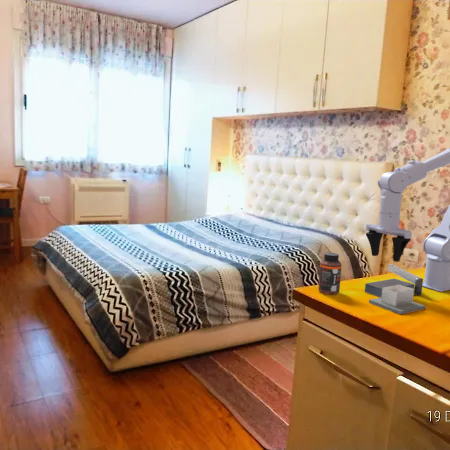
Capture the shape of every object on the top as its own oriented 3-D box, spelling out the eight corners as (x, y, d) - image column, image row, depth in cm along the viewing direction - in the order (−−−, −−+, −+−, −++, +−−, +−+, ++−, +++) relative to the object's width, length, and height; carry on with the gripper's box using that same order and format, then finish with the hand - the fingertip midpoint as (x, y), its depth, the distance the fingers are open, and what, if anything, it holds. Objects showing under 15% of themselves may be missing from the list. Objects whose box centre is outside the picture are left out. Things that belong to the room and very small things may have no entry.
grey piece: (393, 286, 136) (394, 278, 136) (413, 292, 130) (414, 284, 130) (364, 291, 129) (365, 283, 129) (384, 298, 124) (385, 290, 123)
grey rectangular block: (398, 298, 122) (399, 284, 121) (412, 303, 118) (413, 288, 117) (381, 302, 118) (382, 287, 117) (395, 307, 114) (396, 292, 113)
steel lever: (391, 278, 145) (393, 264, 144) (422, 295, 127) (424, 279, 127) (386, 278, 145) (387, 264, 144) (416, 295, 127) (418, 279, 126)
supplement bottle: (339, 296, 125) (342, 256, 123) (318, 294, 126) (321, 255, 124) (338, 290, 130) (341, 252, 129) (318, 288, 131) (320, 250, 130)
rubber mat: (392, 297, 125) (393, 295, 125) (425, 308, 116) (425, 305, 116) (368, 302, 119) (369, 299, 119) (400, 314, 111) (400, 311, 111)
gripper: (360, 210, 134) (357, 254, 136) (402, 216, 122) (397, 264, 124) (376, 209, 138) (372, 252, 140) (418, 215, 126) (413, 262, 128)
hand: (385, 258), depth 132 cm, fingers open, 7 cm apart
